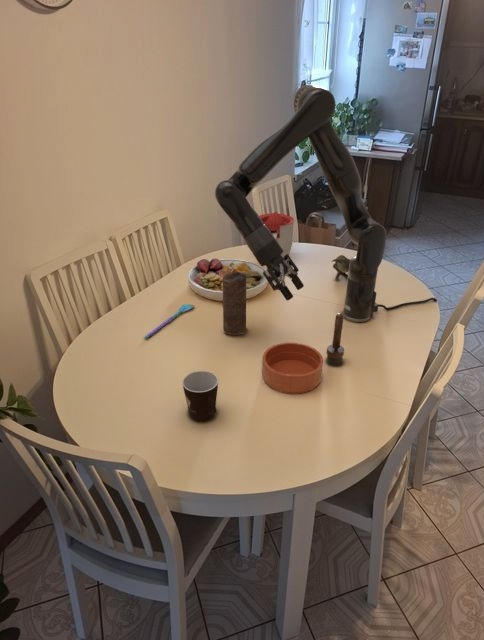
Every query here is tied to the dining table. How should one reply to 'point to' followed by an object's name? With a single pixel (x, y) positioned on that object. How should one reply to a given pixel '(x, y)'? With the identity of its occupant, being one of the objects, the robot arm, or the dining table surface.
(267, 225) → the citrus juicer
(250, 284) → the bowl
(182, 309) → the spoon
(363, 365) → the dining table surface
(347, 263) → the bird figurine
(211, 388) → the coffee mug
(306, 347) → the basin
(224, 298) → the candle
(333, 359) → the tamper
